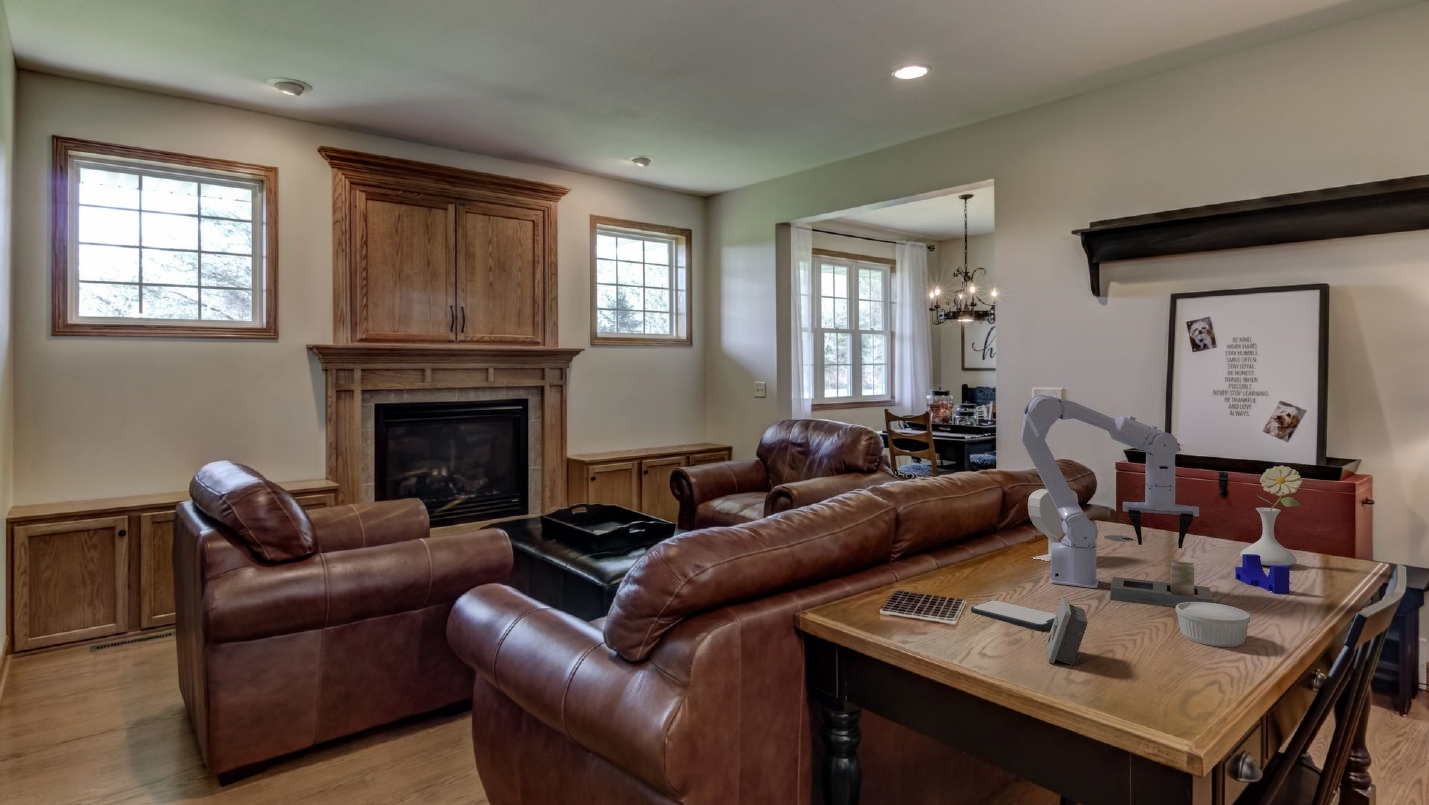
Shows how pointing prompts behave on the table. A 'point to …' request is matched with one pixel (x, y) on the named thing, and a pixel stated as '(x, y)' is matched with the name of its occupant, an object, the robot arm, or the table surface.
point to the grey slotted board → (1155, 592)
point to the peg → (1182, 577)
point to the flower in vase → (1267, 546)
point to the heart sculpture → (1046, 517)
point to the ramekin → (1213, 623)
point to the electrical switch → (1066, 633)
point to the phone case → (1016, 615)
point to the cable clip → (1263, 574)
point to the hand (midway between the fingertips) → (1159, 545)
